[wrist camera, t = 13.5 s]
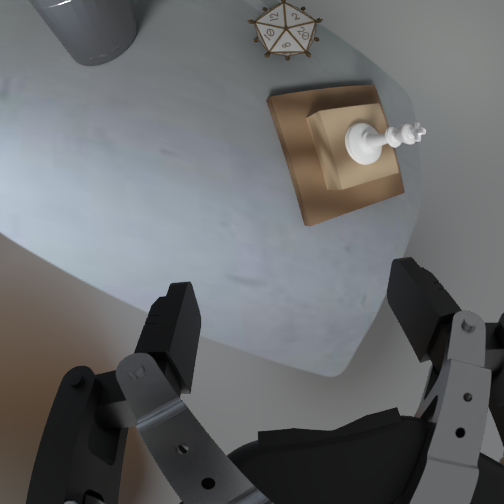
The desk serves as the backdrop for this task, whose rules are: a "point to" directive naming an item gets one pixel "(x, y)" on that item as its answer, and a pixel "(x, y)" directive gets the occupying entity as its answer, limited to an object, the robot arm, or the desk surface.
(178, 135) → the desk surface
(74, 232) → the desk surface
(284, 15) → the game die
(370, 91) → the walnut base
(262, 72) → the desk surface
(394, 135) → the chess piece
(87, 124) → the desk surface
